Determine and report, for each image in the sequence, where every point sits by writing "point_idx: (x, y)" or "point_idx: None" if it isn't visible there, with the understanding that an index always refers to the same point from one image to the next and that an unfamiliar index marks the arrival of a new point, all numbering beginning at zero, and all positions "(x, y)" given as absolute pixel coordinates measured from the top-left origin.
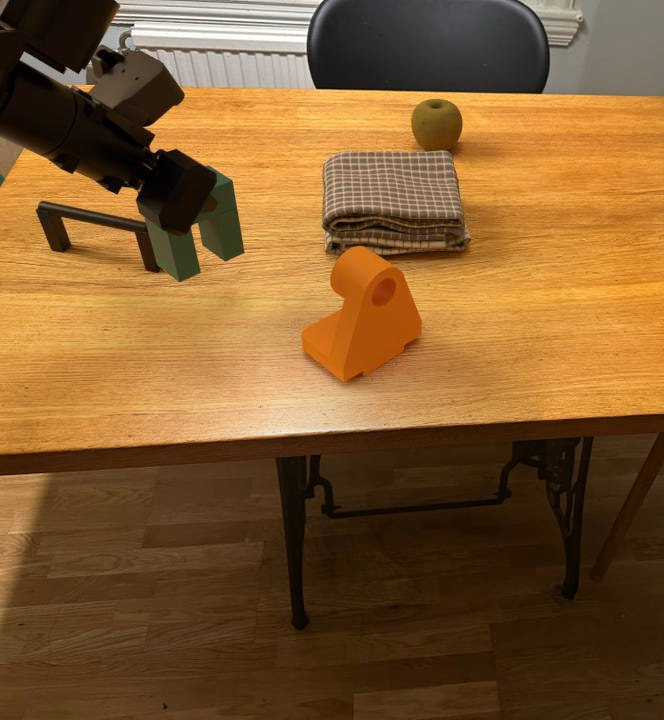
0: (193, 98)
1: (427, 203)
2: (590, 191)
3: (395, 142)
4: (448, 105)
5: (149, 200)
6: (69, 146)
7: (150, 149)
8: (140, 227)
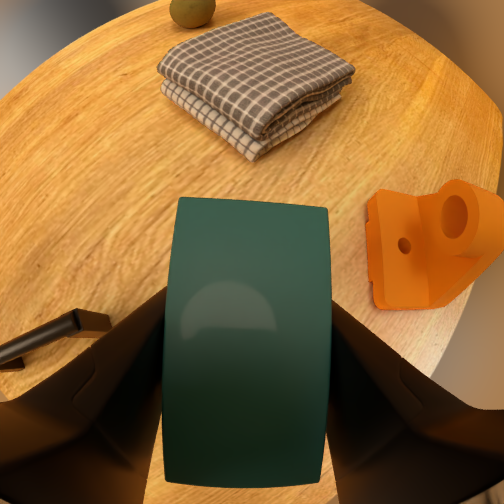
0: None
1: (321, 62)
2: (323, 23)
3: (157, 35)
4: None
5: None
6: None
7: (78, 437)
8: (70, 330)
